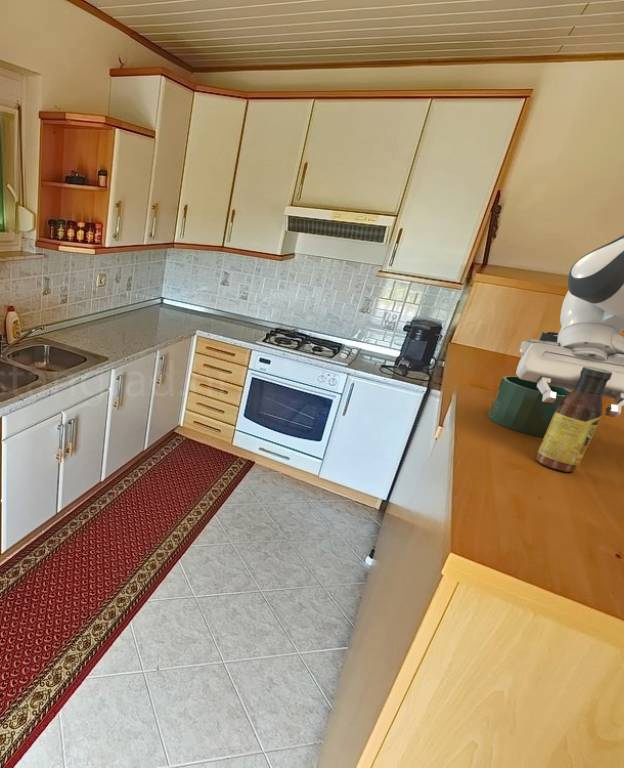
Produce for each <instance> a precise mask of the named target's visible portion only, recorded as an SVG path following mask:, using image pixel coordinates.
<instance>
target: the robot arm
mask: <svg viewBox="0 0 624 768" xmlns="http://www.w3.org/2000/svg"><path fill="white" fill-rule="evenodd" d="M567 276H568V277H567V287H568V290H567V292H566V294H565V297H564V299H563V301H562V305H561V310H560V315H559V316H560V317H559V322H560V326H561V327H560V330H559V331H558V332H557V333H558V339H557V343H555V342H549V341H541V340H539V339H537V338H531V339H527V340H524V341H522V342H521V343H520V346H519V353H520V355H521V358H520V359H519V362H518V365H517V367H516V371H515V376H518V377H519V378H520V379H522V380H527V381H532V382H537V387H538V389H539V390H540V392H541V393H542V395H543V399H542V402H547V403H553V402H554V401H555V400H556V397H555V396H556V394H557V392H552V391H551V389H550V387H549V386H548V385H551V386H556V387H561V388H566V389H568V390H570V391H574V390H575V386H576V385H577V383H578V381H579V378H580V376H581V375H580V372H581V370H582V368H583V367H584V366H586V367H594V368H599V369H604V370H607V371H610V372H612V375H611V378H610V380H608V381H607V383H606V386H605V388H604V390H603V394H602V397H605V398H610V399H613V402H614V403H615V404H612V403H611V404H609V405H608V406H607V407H606V408H605V413H604V415H605V416H606V417H611V418H618V417H620V416H621V415H622V407H624V335H623V336H622V335H621V334H620V333H622V332H623V333H624V233H623V234H622V235H620V236H619V237H617V238H615V239H613V240H612V241H610V242H608V243H606V244H604V245H602V246H600V247H597V248H595V249H594V250H592V251H589V252H588V253H586V254H584V255H583V256H581V257H580V258H578V259H577V261H575V262H574V264H572V266H571V268H570V270H569V272H568V275H567Z"/></svg>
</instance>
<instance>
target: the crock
mask: <svg viewBox="0 0 624 768" xmlns="http://www.w3.org/2000/svg"><path fill="white" fill-rule="evenodd" d="M548 386H549V387H550V389H551V391H552V392H557V394H556V396H555V397H556V400H555V401H554V402H553V403H547V402H542V399H543V395H542V393H541V392H540V390H539V389H538V387H537V382H532V381H527V380H522V379H520V378H519V377H518V376H517V375H505V376H504V375H503V377H502V378H501V381H500V383H499V386H498V388H497V390H496V393H495V396H494V398H493V400H492V403H491V405H490V408H489V410H488V414H487V418H488V419H489V420H490V421H492V422H494V423H496V424H497V425H499V426H502V427H504V428H507V429H509V430H512V431H515V432H518V431H519V433H522V434H526V435H530V436H535V437H540V438H544V436H545V434H546V432H547V429H548V427H549V425H550V423H551V420H552V418H553V416H554V413H555V411H557V408H558V406H559V404H560V401H561V400H562V398H563V397H565V396H566V395H567V394H569V393H571V392H572V391H573V390H570V389H566V388H561V387H556V386H551V385H548Z"/></svg>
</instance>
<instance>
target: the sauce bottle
mask: <svg viewBox="0 0 624 768" xmlns="http://www.w3.org/2000/svg"><path fill="white" fill-rule="evenodd" d="M580 375H581V376H580V378H579V381H578V383H577V385H576V386H575V390H571V391H572V392H571V393H569V394H567V395H566V396H565V397H563V398H562V400H561V401H560V404H559V406H558V408H557V411H555V413H554V416H553V418H552V420H551V423H550V425H549V427H548V429H547V432H546V434H545V436H544V437H543V439H542V441H541V443H540V445H539V448H538V450H537V453H538V454H537V455H536V461H537V462H538V463H539V464H540V465H543V466H544V467H547V468H549V469H552V470H556V471H559V472H563V473H573V472H575V471H576V470H577V467H578V466H579V465H580V463H581V462H582V460H583V457H584V455H585V453H586V451H587V448H588V447H589V444H590V443H591V440H592V438H593V437H594V434H595V432H596V429H597V427H598V425H599V423H600V421H601V419H602V417H603V396H602V394H603V390H604V388H605V386H606V383H607V381H608V380H610V378H611V375H612V372H610V371H607V370H604V369H599V368H594V367H586V366H584V367H583V368H582V370H581V372H580Z"/></svg>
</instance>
